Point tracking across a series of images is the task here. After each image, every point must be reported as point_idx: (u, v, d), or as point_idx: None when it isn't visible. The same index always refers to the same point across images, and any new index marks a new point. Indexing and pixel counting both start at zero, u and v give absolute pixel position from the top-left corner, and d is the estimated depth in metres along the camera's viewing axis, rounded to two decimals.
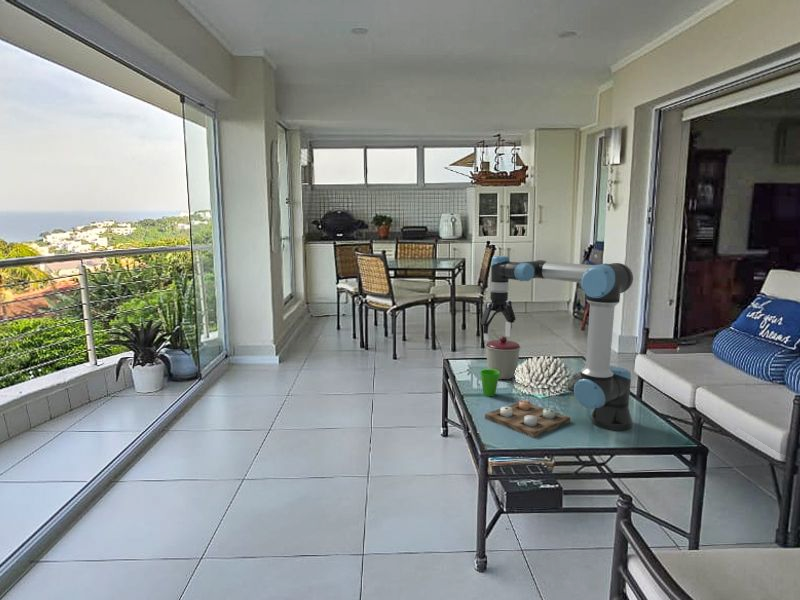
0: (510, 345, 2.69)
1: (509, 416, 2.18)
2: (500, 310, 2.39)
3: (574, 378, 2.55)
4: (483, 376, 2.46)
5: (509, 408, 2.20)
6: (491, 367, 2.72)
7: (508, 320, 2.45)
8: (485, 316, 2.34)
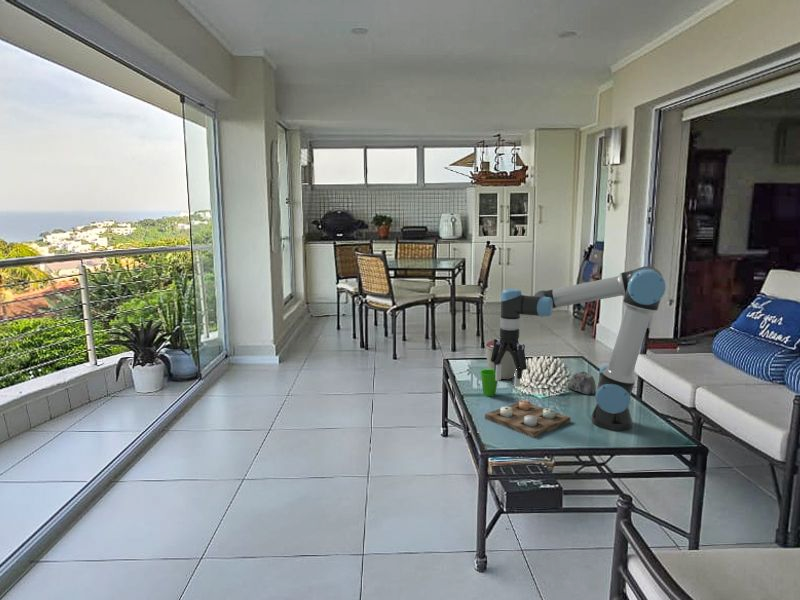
0: None
1: (509, 416, 2.18)
2: (507, 349, 2.15)
3: (574, 378, 2.55)
4: (483, 376, 2.46)
5: (509, 408, 2.20)
6: (491, 367, 2.72)
7: None
8: None
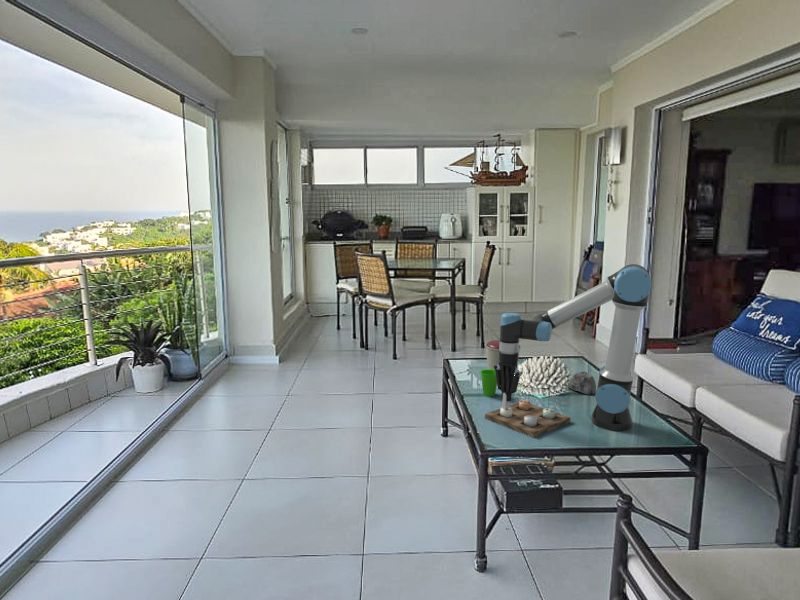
0: None
1: (509, 417, 2.18)
2: (506, 372, 2.17)
3: (574, 378, 2.56)
4: (483, 376, 2.46)
5: (509, 409, 2.20)
6: (491, 367, 2.72)
7: None
8: None
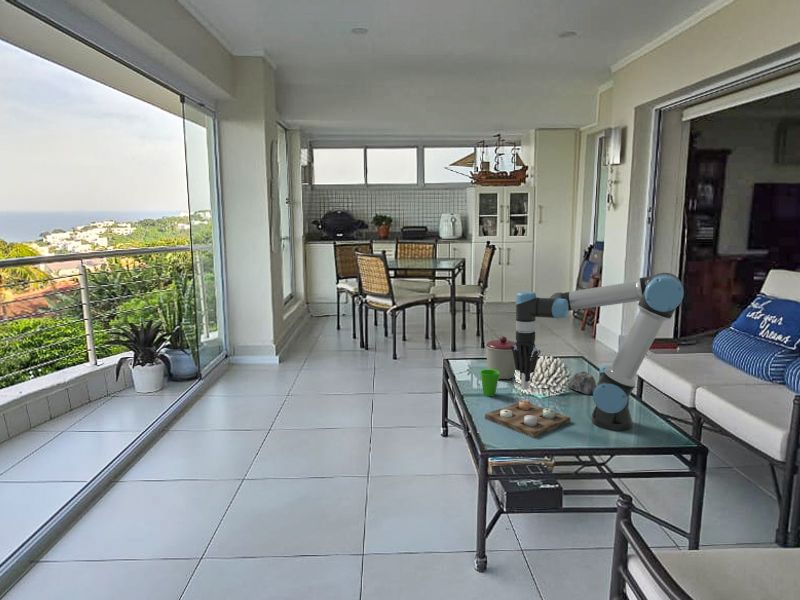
0: (510, 345, 2.69)
1: None
2: (523, 352, 2.15)
3: (575, 378, 2.56)
4: (483, 376, 2.46)
5: (509, 411, 2.21)
6: (491, 367, 2.72)
7: None
8: None
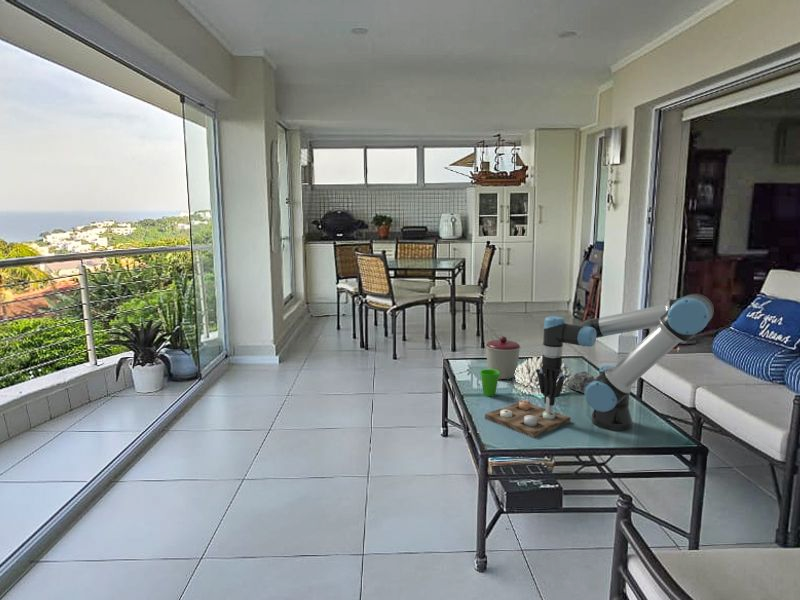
0: (510, 345, 2.69)
1: None
2: (549, 376, 2.15)
3: (575, 378, 2.56)
4: (483, 376, 2.46)
5: (509, 411, 2.21)
6: (491, 367, 2.72)
7: None
8: None
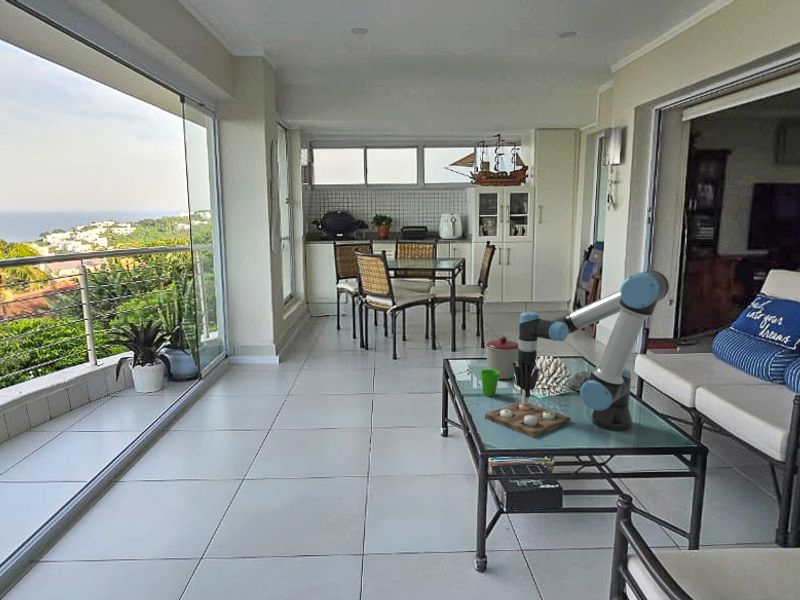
0: (510, 345, 2.69)
1: None
2: (524, 369, 2.25)
3: (575, 378, 2.56)
4: (483, 376, 2.46)
5: (509, 411, 2.21)
6: (491, 367, 2.72)
7: None
8: None
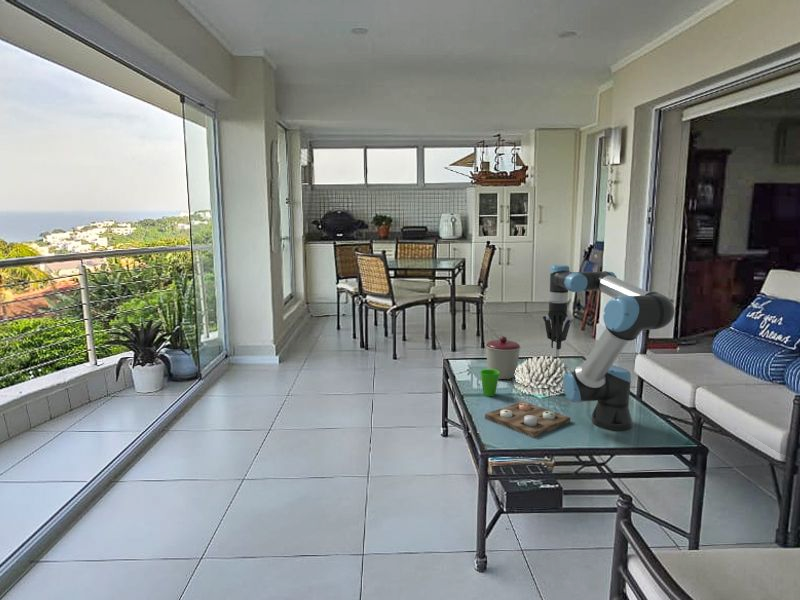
0: (510, 345, 2.69)
1: None
2: (556, 321, 2.30)
3: None
4: (483, 376, 2.46)
5: (509, 411, 2.21)
6: (491, 367, 2.72)
7: None
8: None
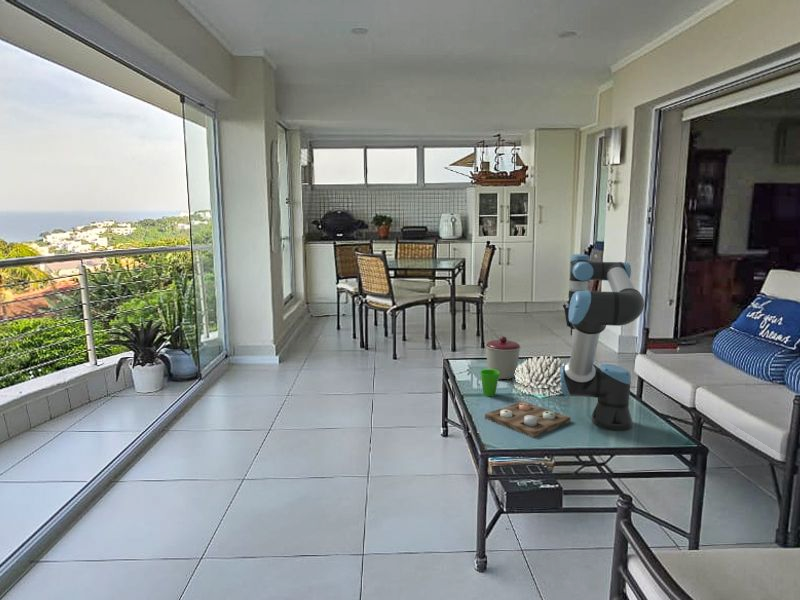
0: (510, 345, 2.69)
1: None
2: None
3: None
4: (483, 376, 2.46)
5: (509, 411, 2.21)
6: (491, 367, 2.72)
7: None
8: None
